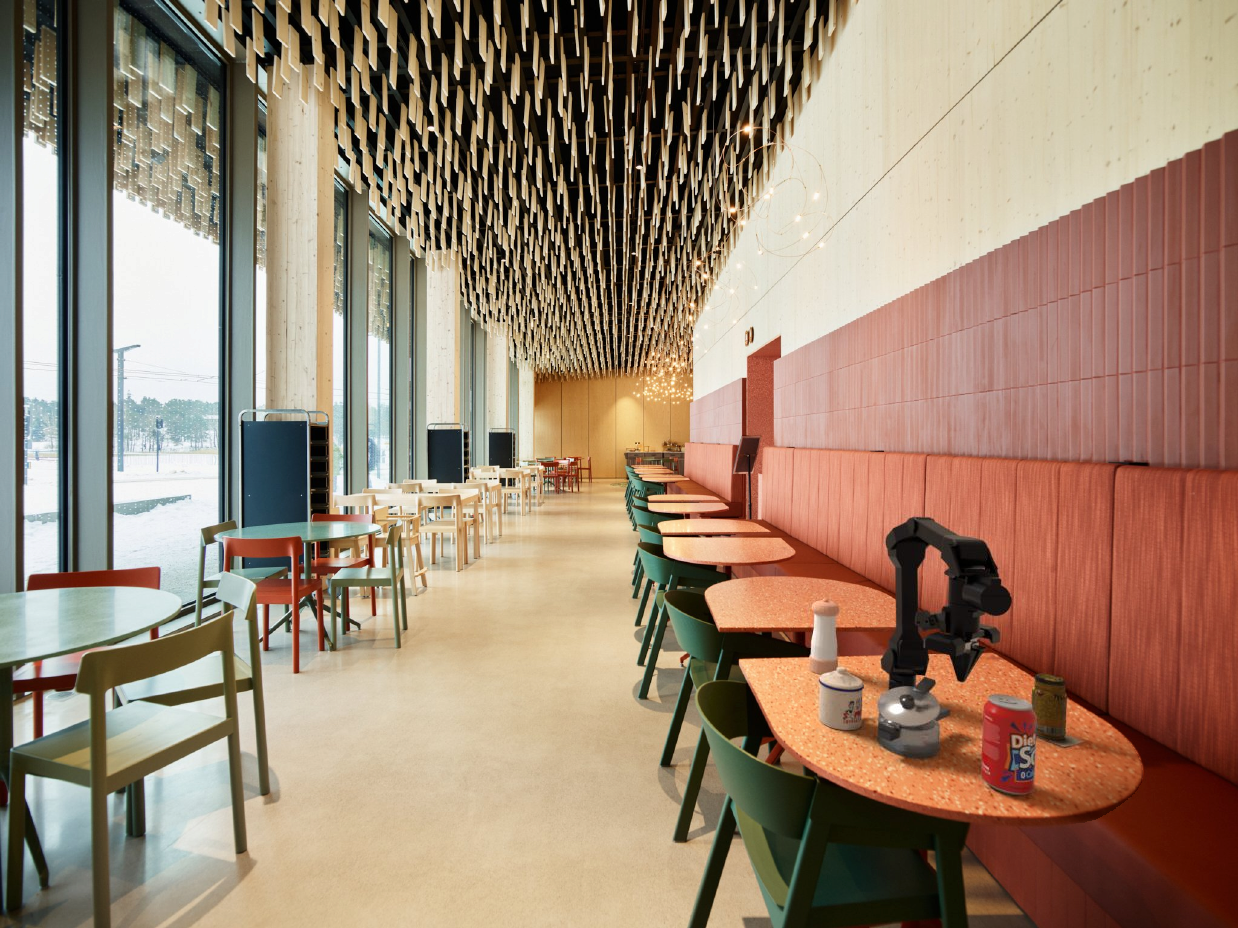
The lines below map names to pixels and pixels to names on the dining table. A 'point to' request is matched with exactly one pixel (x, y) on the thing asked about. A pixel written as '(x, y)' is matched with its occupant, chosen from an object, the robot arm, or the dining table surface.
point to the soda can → (1009, 744)
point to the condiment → (1051, 710)
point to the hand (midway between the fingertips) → (961, 681)
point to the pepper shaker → (824, 637)
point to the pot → (912, 737)
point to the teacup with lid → (840, 700)
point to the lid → (909, 705)
